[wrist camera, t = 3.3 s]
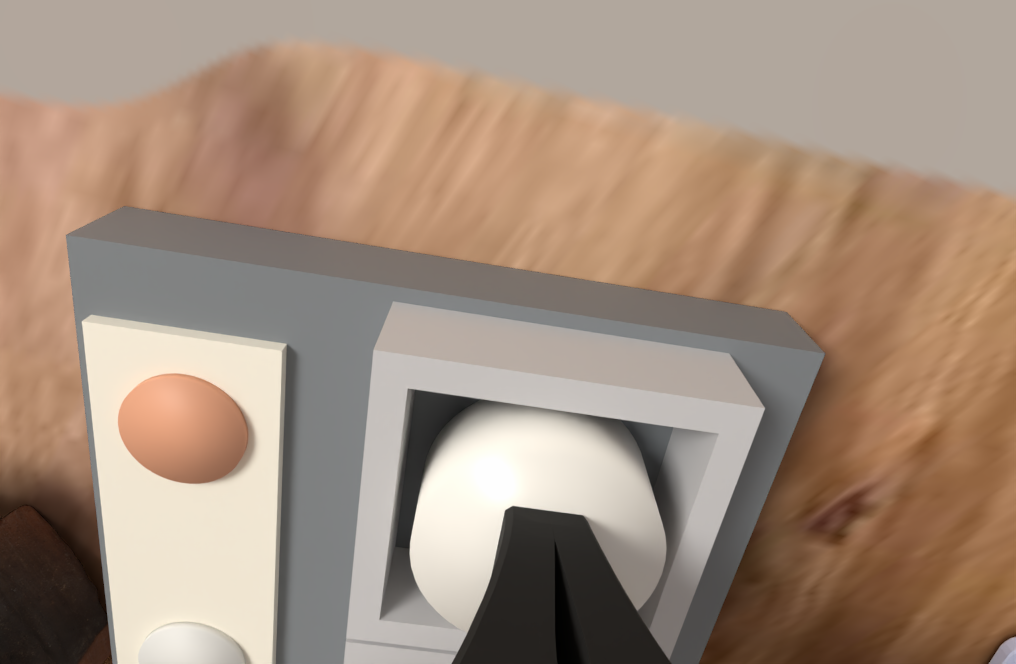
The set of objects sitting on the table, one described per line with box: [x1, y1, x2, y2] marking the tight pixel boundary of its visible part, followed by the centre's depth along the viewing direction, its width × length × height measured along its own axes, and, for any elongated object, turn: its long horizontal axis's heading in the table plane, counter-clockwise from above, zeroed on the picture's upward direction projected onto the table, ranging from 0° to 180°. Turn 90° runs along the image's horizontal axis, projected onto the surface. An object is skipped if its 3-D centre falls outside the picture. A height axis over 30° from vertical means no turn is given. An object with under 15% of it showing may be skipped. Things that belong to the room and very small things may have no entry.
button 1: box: [410, 399, 666, 633], centre depth 13 cm, size 4×4×2 cm
